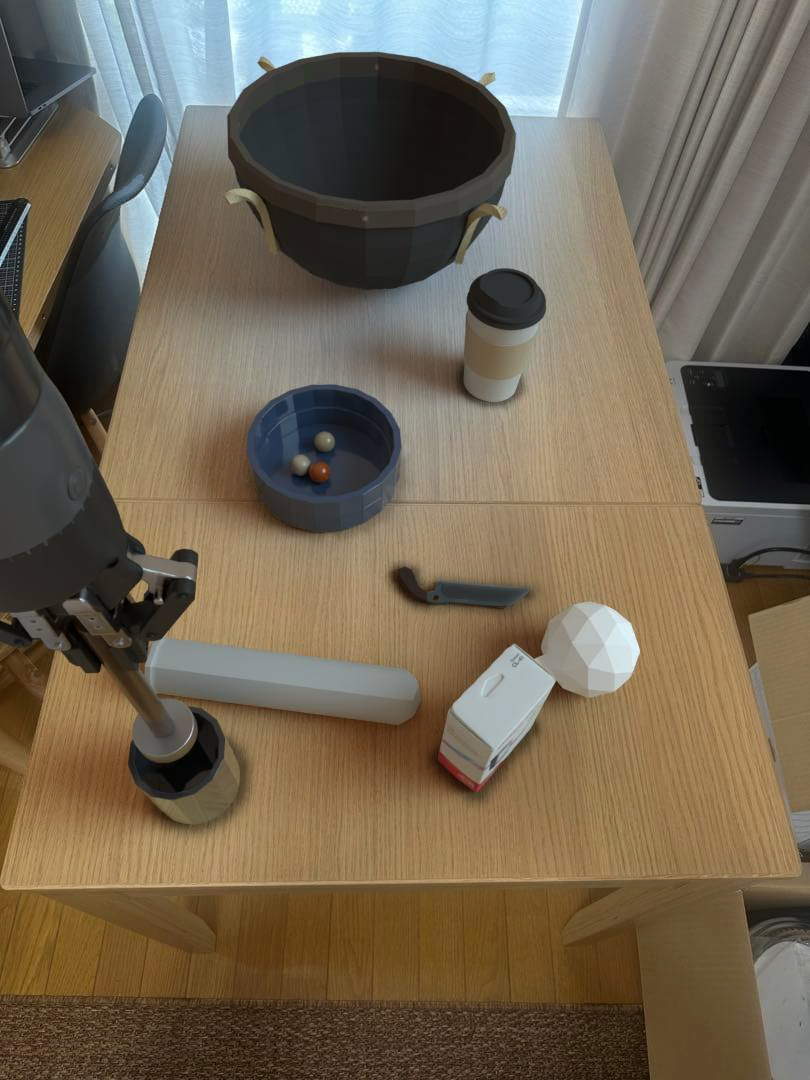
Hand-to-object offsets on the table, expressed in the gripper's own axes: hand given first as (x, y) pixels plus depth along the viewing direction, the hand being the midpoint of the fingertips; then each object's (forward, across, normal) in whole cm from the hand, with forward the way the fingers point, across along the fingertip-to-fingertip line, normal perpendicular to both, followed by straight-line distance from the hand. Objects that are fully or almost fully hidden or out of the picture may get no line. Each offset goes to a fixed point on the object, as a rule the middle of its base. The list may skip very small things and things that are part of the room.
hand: (114, 657), depth 44 cm
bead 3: (+25, -11, -33) cm, 43 cm away
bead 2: (+25, -12, -37) cm, 46 cm away
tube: (+27, -8, -8) cm, 29 cm away
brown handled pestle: (+14, 0, 0) cm, 14 cm away
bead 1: (+25, -9, -34) cm, 43 cm away
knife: (+27, -26, -18) cm, 41 cm away
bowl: (+27, -19, -72) cm, 79 cm away
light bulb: (+27, -35, -9) cm, 45 cm away
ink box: (+27, -26, -2) cm, 37 cm away
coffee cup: (+27, -33, -48) cm, 64 cm away
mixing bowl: (+27, -12, -34) cm, 45 cm away
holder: (+27, 0, 0) cm, 27 cm away
